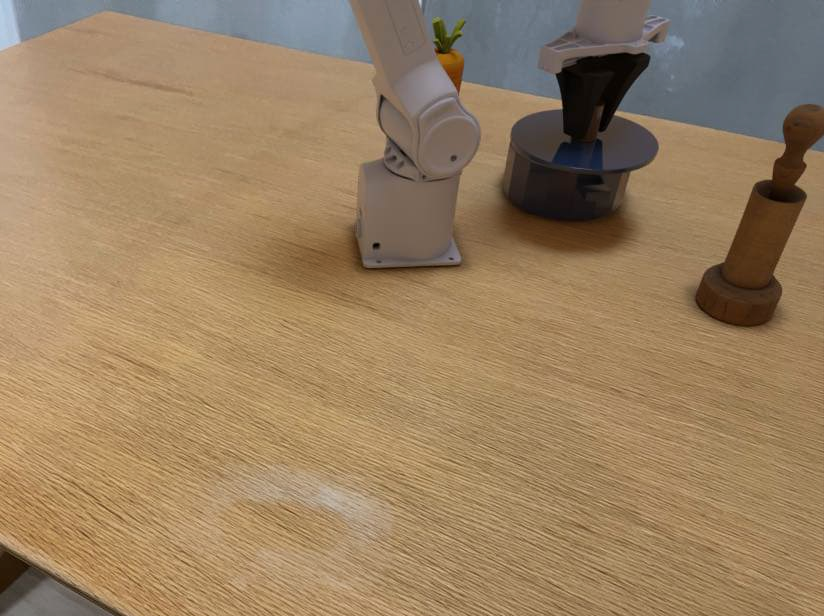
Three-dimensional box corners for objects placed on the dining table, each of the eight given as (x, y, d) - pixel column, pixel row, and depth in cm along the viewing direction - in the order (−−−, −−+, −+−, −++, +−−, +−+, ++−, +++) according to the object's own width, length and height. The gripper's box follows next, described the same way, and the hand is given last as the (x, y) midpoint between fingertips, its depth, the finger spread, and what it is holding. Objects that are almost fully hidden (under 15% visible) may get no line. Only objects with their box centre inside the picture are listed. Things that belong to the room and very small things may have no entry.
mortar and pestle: (779, 330, 71) (871, 128, 59) (698, 320, 72) (772, 121, 60) (767, 287, 76) (850, 92, 63) (692, 279, 77) (759, 87, 65)
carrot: (451, 140, 100) (469, 9, 90) (454, 158, 96) (472, 23, 86) (410, 138, 101) (423, 8, 90) (411, 156, 97) (424, 22, 87)
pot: (526, 236, 83) (536, 187, 79) (484, 157, 96) (492, 112, 93) (649, 232, 83) (664, 183, 80) (590, 154, 97) (601, 109, 93)
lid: (529, 183, 75) (539, 135, 72) (494, 121, 85) (501, 76, 82) (678, 178, 75) (695, 130, 72) (626, 117, 86) (638, 72, 82)
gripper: (598, 5, 65) (561, 166, 74) (715, -25, 70) (668, 128, 80) (533, -16, 69) (506, 138, 78) (648, -43, 75) (610, 104, 84)
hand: (584, 132), depth 79 cm, fingers closed on lid, 2 cm apart
